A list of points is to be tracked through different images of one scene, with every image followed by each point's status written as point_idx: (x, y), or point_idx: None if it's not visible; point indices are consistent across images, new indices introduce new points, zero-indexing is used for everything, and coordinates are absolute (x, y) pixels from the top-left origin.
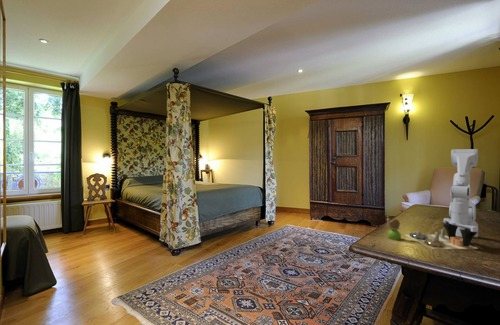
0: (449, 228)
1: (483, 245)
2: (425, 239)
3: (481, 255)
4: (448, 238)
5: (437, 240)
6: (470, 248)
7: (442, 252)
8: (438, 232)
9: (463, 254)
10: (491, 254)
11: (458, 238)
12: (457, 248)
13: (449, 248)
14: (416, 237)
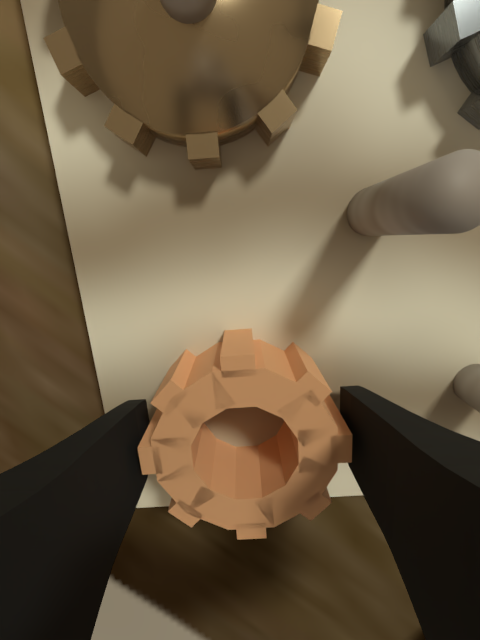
0: (461, 523)
1: (296, 628)
2: (429, 31)
3: (28, 434)
4: None
5: (275, 124)
6: None
7: (18, 31)
8: (442, 217)
9: (11, 273)
10: None
11: (286, 473)
12: (85, 281)
13: (60, 162)
14: None
